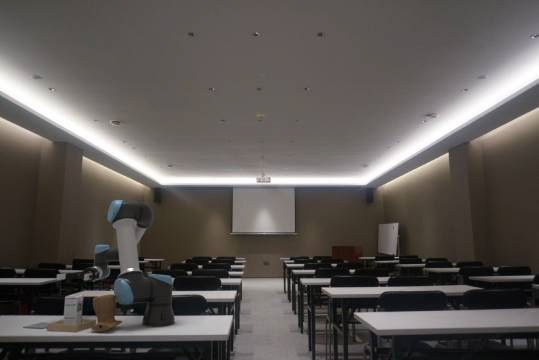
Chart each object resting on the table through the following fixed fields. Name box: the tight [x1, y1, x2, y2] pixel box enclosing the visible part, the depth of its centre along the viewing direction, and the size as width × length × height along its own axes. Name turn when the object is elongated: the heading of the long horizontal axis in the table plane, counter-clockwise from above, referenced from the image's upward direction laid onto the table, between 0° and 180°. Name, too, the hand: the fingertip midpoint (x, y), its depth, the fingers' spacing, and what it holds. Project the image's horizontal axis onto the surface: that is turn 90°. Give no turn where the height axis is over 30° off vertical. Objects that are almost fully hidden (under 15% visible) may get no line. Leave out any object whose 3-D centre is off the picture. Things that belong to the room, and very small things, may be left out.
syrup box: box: [63, 294, 84, 325], centre depth 173 cm, size 6×6×14 cm
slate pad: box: [22, 321, 49, 330], centre depth 177 cm, size 11×11×1 cm
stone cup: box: [90, 293, 123, 333], centre depth 170 cm, size 15×12×15 cm
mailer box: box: [46, 318, 98, 333], centre depth 179 cm, size 15×26×3 cm, turn 169°
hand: (71, 277), depth 184 cm, fingers open, 13 cm apart
